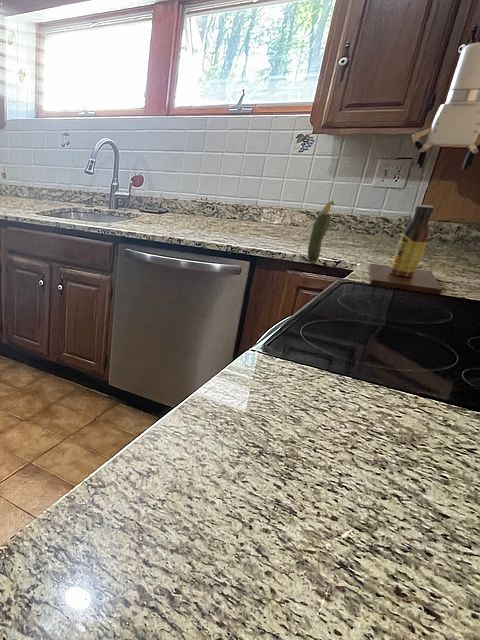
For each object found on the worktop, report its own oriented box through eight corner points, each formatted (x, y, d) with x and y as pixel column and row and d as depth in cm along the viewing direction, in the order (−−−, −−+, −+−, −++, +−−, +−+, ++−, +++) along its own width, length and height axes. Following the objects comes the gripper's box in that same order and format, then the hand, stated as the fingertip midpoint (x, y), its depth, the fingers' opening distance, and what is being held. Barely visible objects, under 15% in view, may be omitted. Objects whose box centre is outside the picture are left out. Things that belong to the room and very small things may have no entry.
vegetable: (301, 262, 172) (318, 199, 164) (306, 260, 175) (322, 198, 167) (316, 265, 170) (333, 201, 161) (320, 263, 172) (338, 200, 164)
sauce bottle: (387, 271, 159) (410, 203, 150) (412, 274, 156) (437, 205, 148) (389, 275, 153) (412, 205, 145) (415, 279, 151) (440, 207, 142)
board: (429, 275, 161) (431, 271, 160) (440, 294, 142) (442, 289, 141) (368, 267, 168) (369, 263, 167) (370, 284, 149) (371, 279, 149)
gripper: (505, 98, 134) (479, 169, 141) (422, 99, 142) (401, 166, 149) (512, 96, 128) (485, 170, 135) (425, 98, 136) (403, 167, 143)
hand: (441, 168), depth 142 cm, fingers open, 9 cm apart
